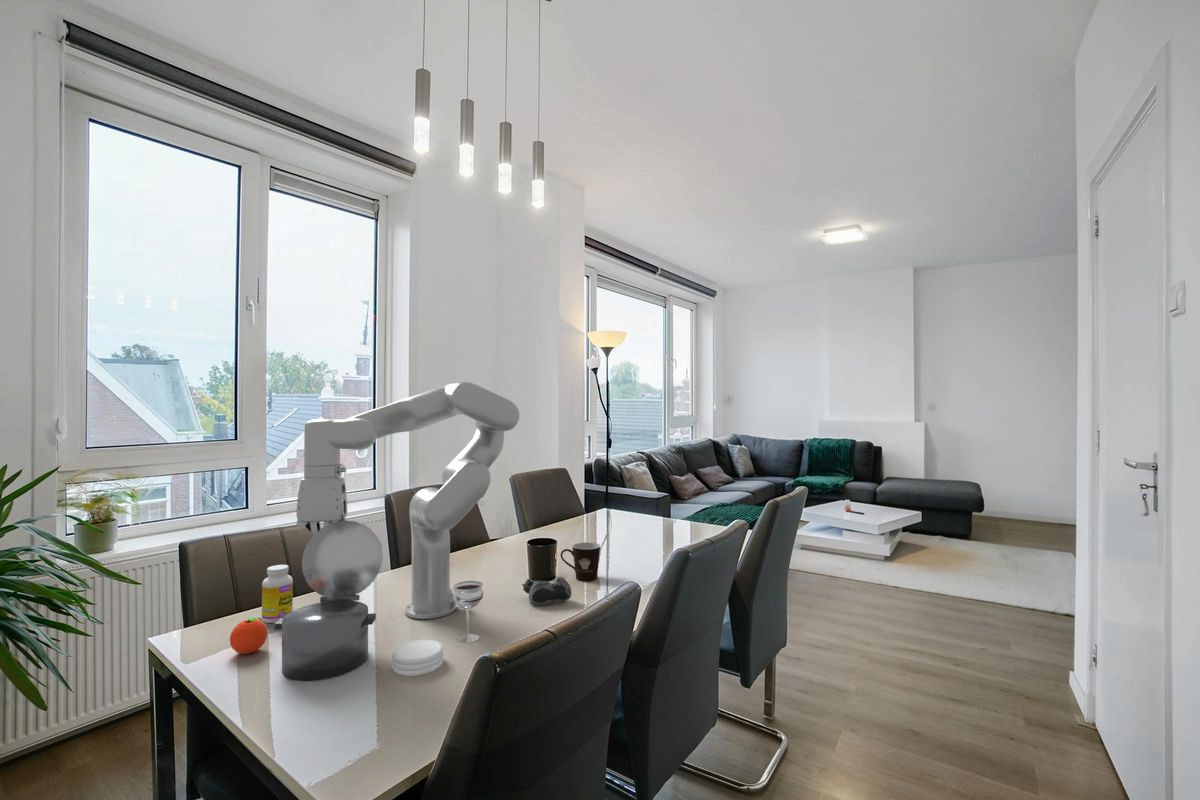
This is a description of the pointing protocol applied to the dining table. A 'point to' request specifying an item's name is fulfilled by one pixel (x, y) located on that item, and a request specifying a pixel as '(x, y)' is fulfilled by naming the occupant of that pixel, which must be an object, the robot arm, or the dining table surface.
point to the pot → (324, 639)
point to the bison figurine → (547, 591)
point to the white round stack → (417, 657)
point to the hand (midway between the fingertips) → (321, 550)
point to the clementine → (248, 636)
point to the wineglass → (468, 603)
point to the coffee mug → (585, 560)
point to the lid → (342, 560)
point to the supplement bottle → (277, 594)
